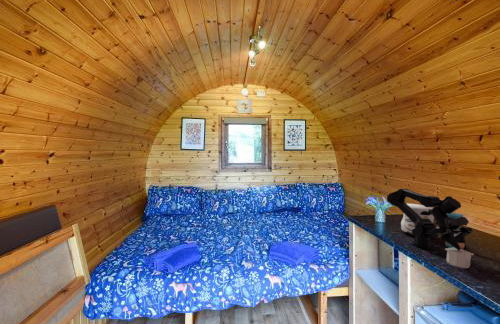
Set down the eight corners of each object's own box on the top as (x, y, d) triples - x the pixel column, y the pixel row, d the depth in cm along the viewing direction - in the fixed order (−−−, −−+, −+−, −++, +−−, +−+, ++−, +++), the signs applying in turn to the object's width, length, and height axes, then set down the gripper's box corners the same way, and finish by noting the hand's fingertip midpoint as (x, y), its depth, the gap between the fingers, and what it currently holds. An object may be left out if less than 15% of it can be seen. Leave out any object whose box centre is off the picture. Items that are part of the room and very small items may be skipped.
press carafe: (442, 261, 114) (444, 248, 114) (456, 258, 118) (457, 246, 118) (462, 269, 107) (464, 255, 107) (475, 266, 111) (477, 253, 110)
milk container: (406, 237, 145) (409, 207, 144) (396, 228, 162) (398, 202, 161) (439, 241, 141) (442, 211, 140) (425, 232, 158) (428, 205, 157)
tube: (459, 247, 133) (463, 213, 132) (459, 250, 130) (463, 215, 129) (442, 243, 138) (446, 210, 137) (441, 245, 135) (445, 211, 134)
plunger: (447, 260, 114) (449, 240, 113) (454, 259, 116) (456, 240, 115) (461, 265, 109) (463, 245, 108) (468, 264, 111) (470, 244, 110)
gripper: (438, 209, 113) (459, 242, 103) (471, 210, 116) (495, 242, 106) (421, 221, 121) (440, 252, 111) (453, 221, 124) (473, 251, 114)
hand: (462, 249), depth 110 cm, fingers closed on plunger, 3 cm apart
